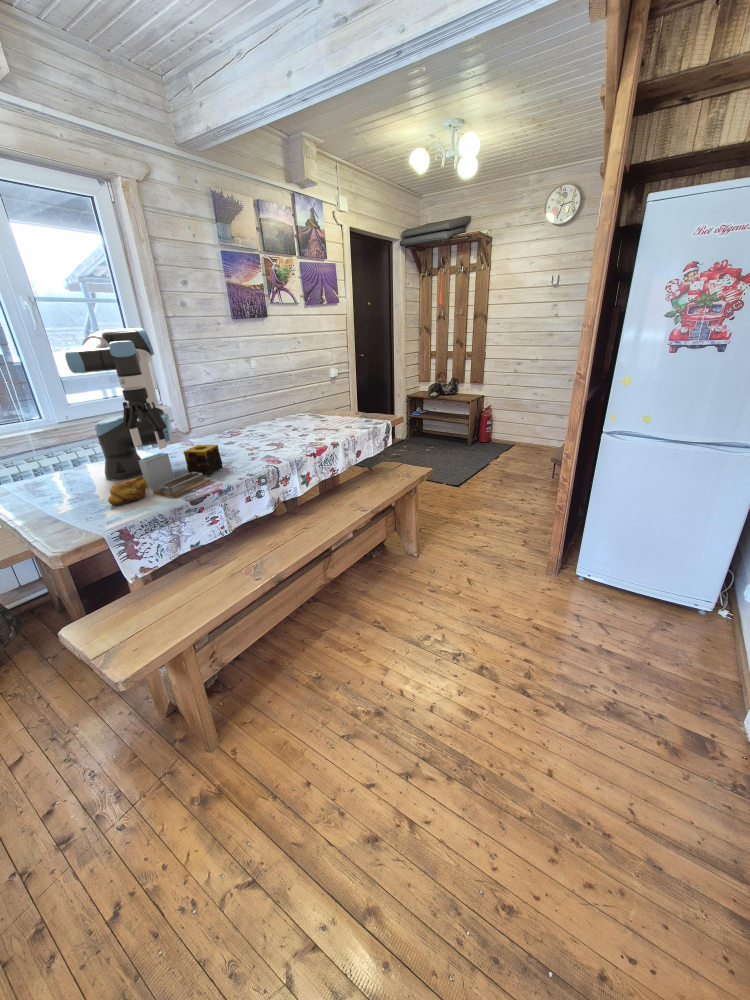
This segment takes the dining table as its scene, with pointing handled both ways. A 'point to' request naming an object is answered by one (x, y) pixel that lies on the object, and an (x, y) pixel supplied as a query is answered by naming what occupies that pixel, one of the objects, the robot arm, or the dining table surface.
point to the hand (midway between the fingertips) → (150, 446)
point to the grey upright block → (156, 470)
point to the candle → (203, 459)
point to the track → (181, 485)
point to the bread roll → (127, 491)
